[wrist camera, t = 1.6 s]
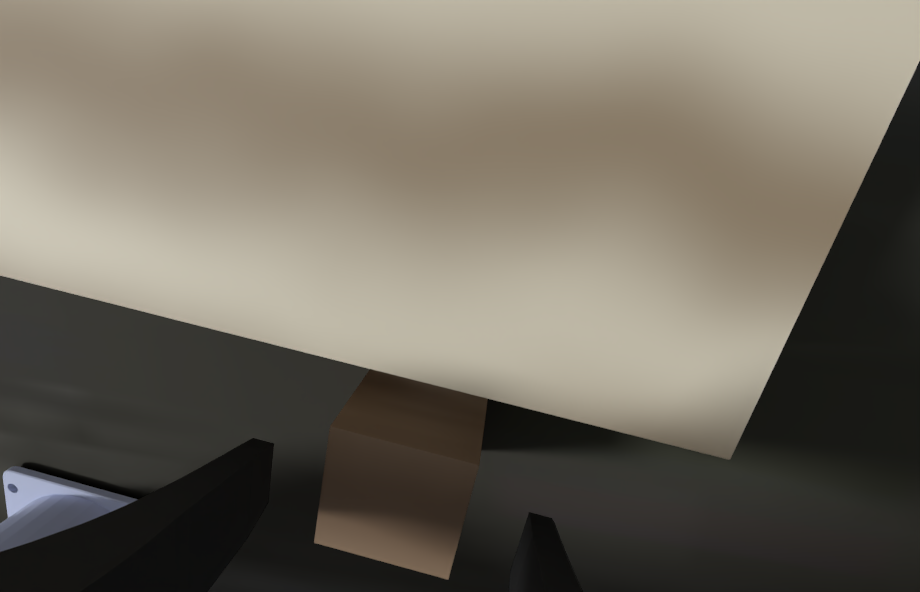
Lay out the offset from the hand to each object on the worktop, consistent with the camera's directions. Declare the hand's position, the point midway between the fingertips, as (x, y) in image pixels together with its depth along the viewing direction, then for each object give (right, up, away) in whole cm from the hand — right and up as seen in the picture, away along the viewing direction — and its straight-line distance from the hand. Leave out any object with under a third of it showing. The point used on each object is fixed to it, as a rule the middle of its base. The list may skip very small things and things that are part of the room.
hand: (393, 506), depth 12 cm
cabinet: (+1, +10, +3) cm, 11 cm away
